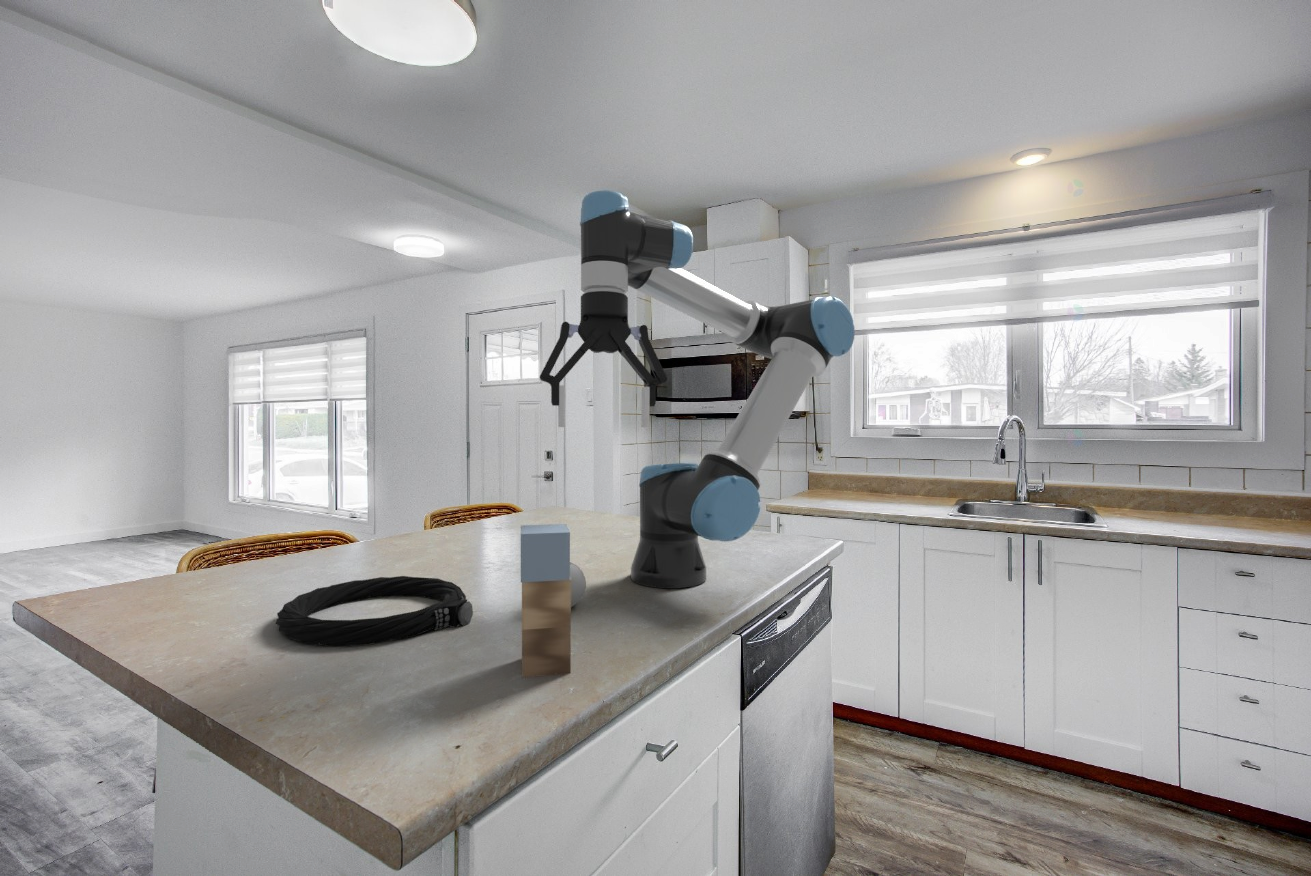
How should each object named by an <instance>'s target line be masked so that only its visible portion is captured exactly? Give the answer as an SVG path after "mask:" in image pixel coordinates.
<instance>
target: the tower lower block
mask: <svg viewBox="0 0 1311 876" xmlns="http://www.w3.org/2000/svg"><path fill="white" fill-rule="evenodd" d="M571 627H572V626H571ZM571 627H557V628H542V629H527V630H522V629H521V678H532V677H541V676H554V675H555V676H556V675H566V674H568V675H569V674H571V664H572V662H571V660H572V659H571V657H572V655H571V653H572V652H571V651H572V650H571V649H572V648H571V646H572V644H571V641H572V638H571V637H572V633H571V631H572V629H571Z"/></svg>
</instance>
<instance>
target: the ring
mask: <svg viewBox="0 0 1311 876" xmlns="http://www.w3.org/2000/svg"><path fill="white" fill-rule="evenodd" d="M398 596H399V597H423V598H427V599H430V600H436V601H437V600H439V601H440V602H436V603H434V604H432V605H430V606H426V607H423V608H421V609H419V610H415V611H409V612H403V613H397V614H393V615H389V616H384V617H374V618H373V617H372V618H371V617H370V618H360V619H320V618H315V617H310V615H313V614H315V613H317V612H319V611H320V610H323V609H327V608H331V607H334V606H337V605H340V604H344V603H349V602H355V601H362V600H366V599H373V598H387V597H398ZM473 614H474V609H473V604H472V603H471V601H468V599H467V596H466V594H465V593H464V591H463V590H462V589H461V587H460V586H458V585H457V584H455V583H453V582H452V581H447V580H443V579H441V578H434V577H421V576H420V577H419V576H416V577H415V576H407V575H401V576H399V575H398V576H392V577H390V576H389V577H386V576H385V577H383V576H381V577H374V578H368V579H361V580H359V579H358V580H357V579H356V580H355V579H354V580H350V581H347V582H340V583H337V584H336V583H335V584H332V585H329V586H326V587H318V588H315V589H313V590H311V591H309V592H306V593H302V594H299V595H297V596H296V597H295V598H293V599H292V600H290V601H288V602H287V603H284V605H283V607H282V609H280V611H279V612H277V614H276V615H277V619H276V620H275V625H277V626H278V628H277V630H278V631H279V632H280V633H281V634H282V635H285V637H286V638H287V639H290V640H294V641H297V642H301V643H302V644H305V645H308V646H309V645H311V646H312V645H313V646H314V645H322V646H327V647H340V646H341V647H342V646H354V645H355V646H356V645H357V646H362V645H374V644H380V643H385V642H386V643H387V642H390V641H396V640H397V641H398V640H403V639H408V638H411V637H415V636H419V635H420V634H423V633H426V632H430V631H432V630H433V631H437V630H439V631H441V630H442V629H443V628H444V629H445V628H447V627H448V626H449V627H453V628H457V627H459V626H461V625H462V626H463V627H464V626H466V625H467V626H468V624H470V622H471V620H472V619H473Z"/></svg>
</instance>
